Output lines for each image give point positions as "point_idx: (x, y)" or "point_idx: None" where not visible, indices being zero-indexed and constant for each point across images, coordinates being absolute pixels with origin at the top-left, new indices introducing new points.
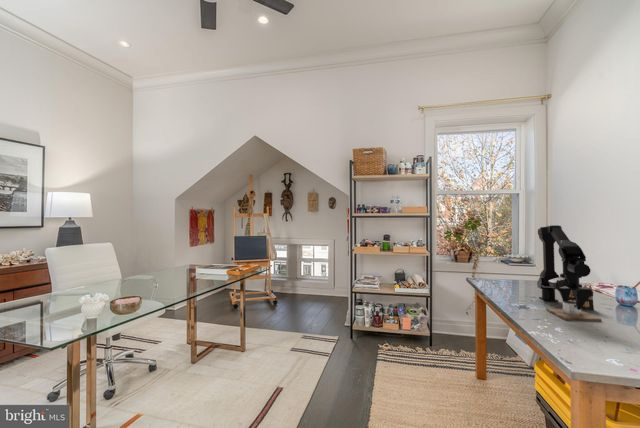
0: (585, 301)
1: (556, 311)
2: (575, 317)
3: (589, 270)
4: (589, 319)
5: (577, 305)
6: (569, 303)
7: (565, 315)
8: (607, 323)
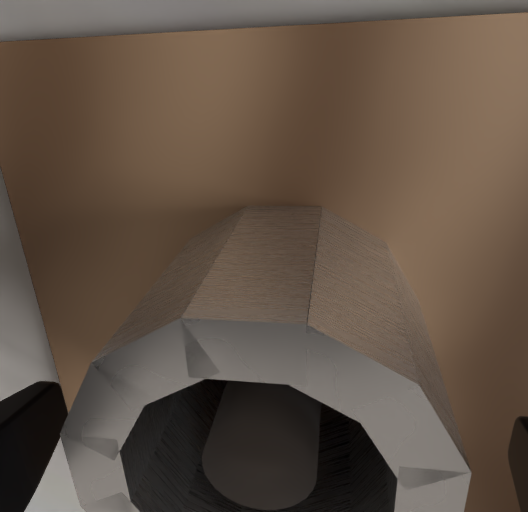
0: None
1: (384, 116)
2: (66, 247)
3: None
4: (64, 378)
5: None
6: (129, 389)
7: (138, 148)
8: (60, 476)
